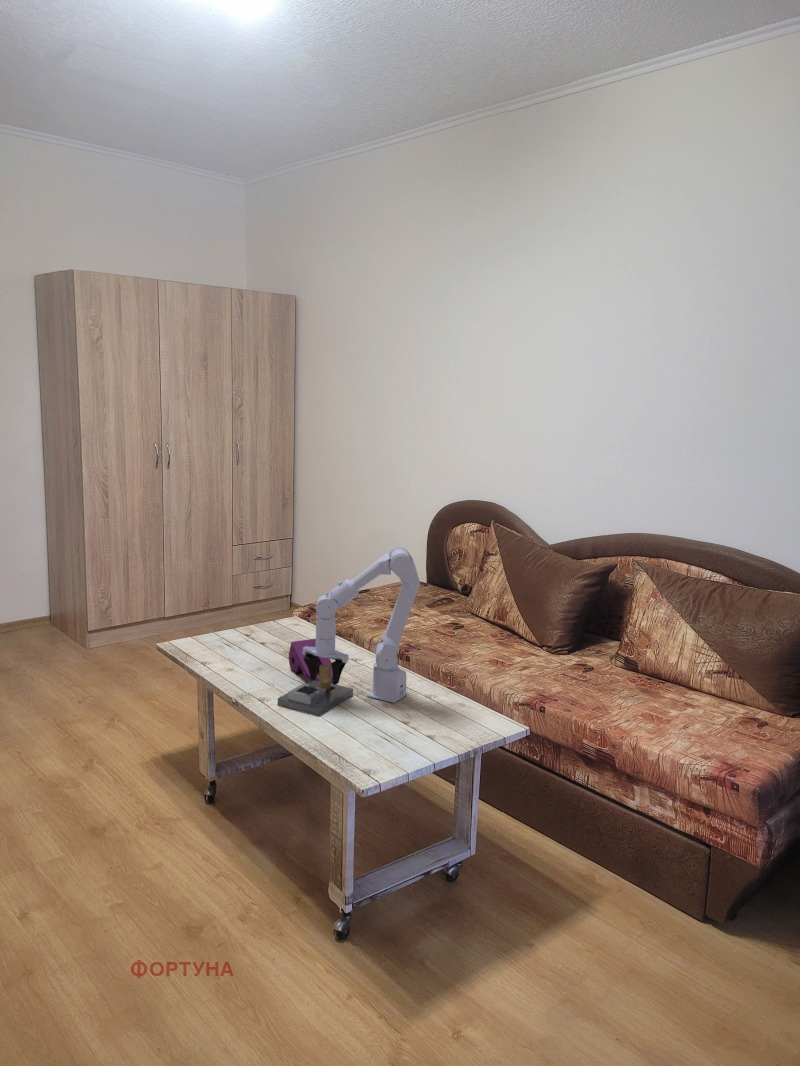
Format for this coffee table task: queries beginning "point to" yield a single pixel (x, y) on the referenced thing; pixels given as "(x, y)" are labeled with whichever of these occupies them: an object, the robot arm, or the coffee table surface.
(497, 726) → the coffee table surface
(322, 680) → the pin
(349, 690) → the mount plate
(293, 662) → the mounting bracket
